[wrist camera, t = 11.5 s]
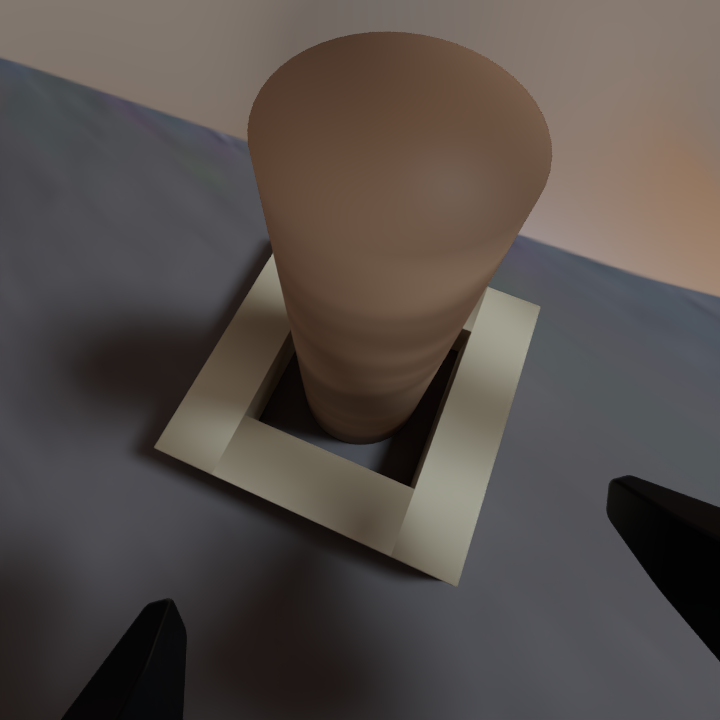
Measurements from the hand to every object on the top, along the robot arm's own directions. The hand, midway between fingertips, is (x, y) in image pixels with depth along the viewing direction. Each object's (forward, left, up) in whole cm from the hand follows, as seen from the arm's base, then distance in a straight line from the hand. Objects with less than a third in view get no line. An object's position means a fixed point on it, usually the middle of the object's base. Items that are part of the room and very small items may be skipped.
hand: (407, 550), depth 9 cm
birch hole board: (+4, +5, -8) cm, 10 cm away
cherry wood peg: (+4, +5, -8) cm, 10 cm away
